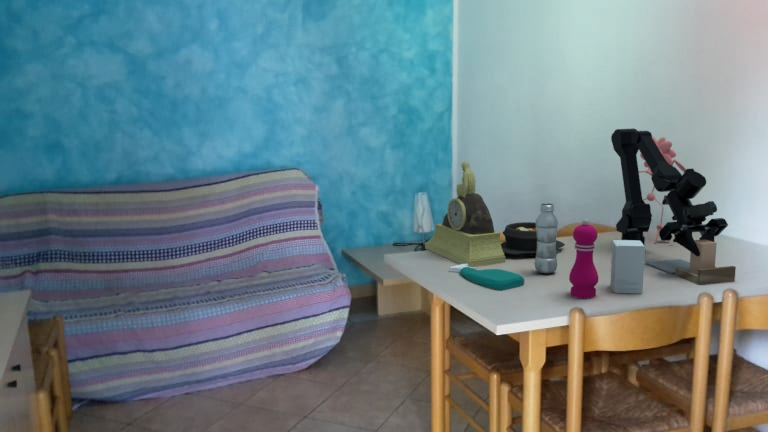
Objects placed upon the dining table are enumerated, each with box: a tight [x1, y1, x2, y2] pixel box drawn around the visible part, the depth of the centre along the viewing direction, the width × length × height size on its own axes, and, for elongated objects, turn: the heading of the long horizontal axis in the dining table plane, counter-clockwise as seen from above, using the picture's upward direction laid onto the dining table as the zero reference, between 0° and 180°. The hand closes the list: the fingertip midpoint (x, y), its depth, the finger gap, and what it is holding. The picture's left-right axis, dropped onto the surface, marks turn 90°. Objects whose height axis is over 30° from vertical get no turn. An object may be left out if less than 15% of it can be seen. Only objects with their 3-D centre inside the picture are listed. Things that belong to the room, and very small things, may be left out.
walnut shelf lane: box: [675, 265, 737, 286], centre depth 193 cm, size 10×11×4 cm
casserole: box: [500, 221, 566, 257], centre depth 227 cm, size 25×19×8 cm
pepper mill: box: [568, 218, 599, 299], centre depth 179 cm, size 7×7×20 cm
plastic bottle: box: [533, 202, 559, 274], centre depth 201 cm, size 6×7×20 cm
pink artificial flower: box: [638, 136, 687, 247], centre depth 239 cm, size 15×26×35 cm, turn 36°
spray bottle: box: [448, 264, 525, 291], centre depth 198 cm, size 3×11×24 cm
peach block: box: [689, 239, 717, 275], centre depth 194 cm, size 4×4×10 cm
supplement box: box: [610, 239, 646, 295], centre depth 184 cm, size 7×7×13 cm
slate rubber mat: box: [644, 258, 690, 275], centre depth 205 cm, size 12×12×1 cm
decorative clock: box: [424, 160, 506, 268], centre depth 222 cm, size 28×13×30 cm, turn 24°
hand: (706, 254), depth 192 cm, fingers closed on peach block, 4 cm apart
